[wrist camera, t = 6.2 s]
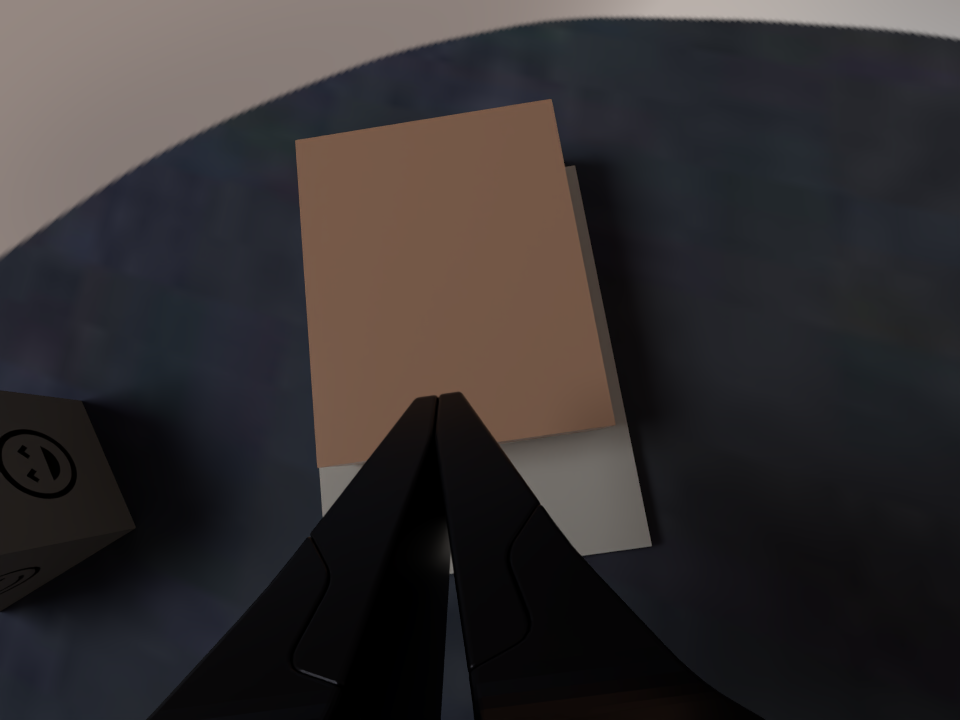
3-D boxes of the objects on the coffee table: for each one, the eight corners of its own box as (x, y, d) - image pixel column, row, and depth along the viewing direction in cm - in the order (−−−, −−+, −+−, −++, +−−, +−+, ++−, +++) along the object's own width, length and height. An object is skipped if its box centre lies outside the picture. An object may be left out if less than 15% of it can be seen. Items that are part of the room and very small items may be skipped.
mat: (648, 543, 15) (651, 546, 14) (332, 587, 15) (327, 590, 15) (573, 172, 17) (574, 165, 17) (305, 213, 18) (301, 208, 17)
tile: (615, 425, 12) (551, 99, 14) (317, 467, 13) (295, 140, 15) (596, 430, 15) (544, 153, 17) (350, 465, 15) (327, 188, 17)
